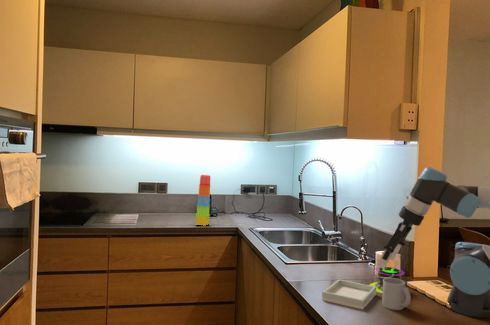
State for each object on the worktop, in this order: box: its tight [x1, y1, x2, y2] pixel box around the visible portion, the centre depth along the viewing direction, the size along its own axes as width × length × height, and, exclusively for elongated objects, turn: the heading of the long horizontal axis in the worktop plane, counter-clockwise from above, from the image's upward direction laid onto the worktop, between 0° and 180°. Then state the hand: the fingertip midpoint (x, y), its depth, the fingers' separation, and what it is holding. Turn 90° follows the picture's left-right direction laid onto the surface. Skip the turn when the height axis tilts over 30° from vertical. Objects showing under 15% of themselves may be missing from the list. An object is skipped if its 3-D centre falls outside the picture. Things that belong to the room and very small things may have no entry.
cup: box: [381, 278, 412, 311], centre depth 142 cm, size 7×10×9 cm
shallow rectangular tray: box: [321, 278, 377, 310], centre depth 151 cm, size 15×18×3 cm
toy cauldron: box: [369, 261, 407, 295], centre depth 162 cm, size 15×15×11 cm
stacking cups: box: [195, 174, 211, 225], centre depth 281 cm, size 10×10×35 cm
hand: (385, 262), depth 144 cm, fingers open, 13 cm apart
